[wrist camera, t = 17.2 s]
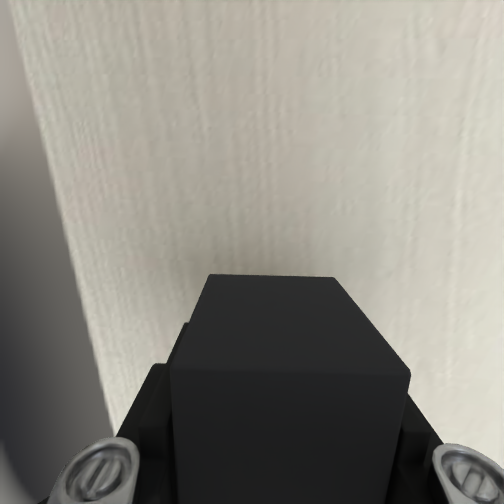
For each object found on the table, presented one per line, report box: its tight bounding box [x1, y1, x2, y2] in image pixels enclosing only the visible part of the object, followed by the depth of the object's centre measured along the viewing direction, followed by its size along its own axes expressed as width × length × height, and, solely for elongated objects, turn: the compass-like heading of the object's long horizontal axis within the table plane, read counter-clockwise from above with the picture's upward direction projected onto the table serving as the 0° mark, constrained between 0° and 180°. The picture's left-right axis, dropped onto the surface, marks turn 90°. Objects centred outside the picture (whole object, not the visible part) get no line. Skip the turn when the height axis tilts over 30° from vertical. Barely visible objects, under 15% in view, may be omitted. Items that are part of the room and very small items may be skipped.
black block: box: [170, 274, 411, 504], centre depth 8 cm, size 6×4×4 cm, turn 178°
